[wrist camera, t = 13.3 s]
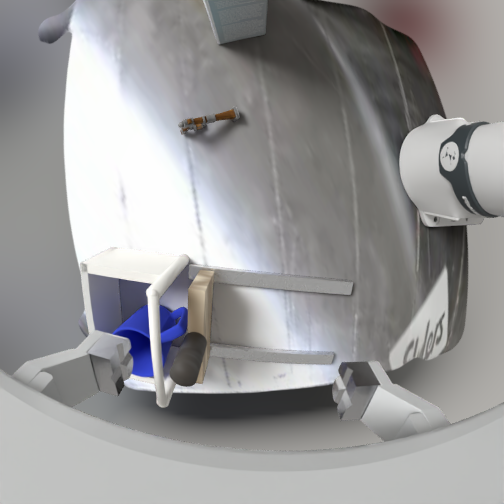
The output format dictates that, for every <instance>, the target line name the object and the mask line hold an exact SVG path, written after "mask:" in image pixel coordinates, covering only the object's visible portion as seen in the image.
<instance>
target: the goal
mask: <svg viewBox="0 0 504 504" xmlns="http://www.w3.org/2000/svg"><path fill="white" fill-rule="evenodd" d="M188 263H189V257H188V256H187V255H185V254H182V255H174V254H166V253H157V252H149V251H140V250H132V249H124V248H116V247H110V248H108V249H106V250H104V251H102V252H100V253H98V254H96V255H94V256H92V257H90V258H89V259H87V260H85V261H83V262H81V263H80V269H81V280H82V289H83V297H84V305H85V312H86V318H87V324H88V330H89V335H90V334H91V333H92V332H93V331H95V330H98V331H102V332H105V333H109V334H112V333H113V332H114V331H115V330H116V329H117V328H118V327H119V326H121V325H122V324H123V322H122V313H121V302H120V289H119V279H125V280H131V281H138V282H144V283H151V284H152V285H151V286H150V287H149V288H148V289H147V291H146V295H147V297H148V314H149V330H150V343H151V354H152V363H153V372H154V376H152V377H140V376H136V375H133V374H131V375H130V377H129V378H130V379H134V380H138V381H142V382H146V383H151V384H155V388H156V394H157V404H158V405H159V406H160V407H167V406H168V404H169V401H170V398H171V396H172V393H173V390H174V387H175V385H176V383H175V382H174V381H173V380H172V379H171V377H170V374H169V372H170V369H171V367H172V365H173V362H174V360H175V358H176V355H177V353H178V351H179V348H180V347H175V346H171V347H170V350H169V353H168V356H167V359H166V362H165V365H164V368H163V363H162V350H161V334H160V311H159V299H160V298H161V296H162V295H163V294H164V293H165V291H166V290H167V289H168V288H169V286H170V285H171V284H172V283H173V281H174V280H175V279H176V278H177V276H178V275H179V274H180V273H181V272H182V270H183V269H184V268H185V267H186V265H187V264H188Z"/></svg>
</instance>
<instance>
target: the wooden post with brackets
mask: <svg viewBox="0 0 504 504" xmlns="http://www.w3.org/2000/svg"><path fill="white" fill-rule="evenodd" d="M239 118H240V116H239V113H238V110H237V107H236V106H233V108H232V109H231V110H229V111H226V112H223V113H220V114H216V115H214V114H212V115H206V116H205V117H204V116H202V117H200V118H195V119H193V118H190V119H185V120H182V122H180V123H179V124H178V126H179V127H180V128H181V134H185V133H186V132H187V131H188V130H189V129H190V130H193V129H194V131H196V130H198V129H203V127H205V126H206V124H208V123H212V122H215V121H218V120H228V119H232V120H233V122H234V121H237V120H238V119H239Z"/></svg>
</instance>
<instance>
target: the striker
mask: <svg viewBox="0 0 504 504" xmlns="http://www.w3.org/2000/svg"><path fill="white" fill-rule="evenodd" d="M213 281H214V271H206V270H200V271H199V272H198V274H197V276H196V277H195V279H194V280H193V282H192V284H191V285H190V287H189V288H188V334H186V335H185V337H184V339H183V342H182V344H181V346H180V348H179V351H178V353H177V355H176V358H175V360H174V362H173V365H172V367H171V369H170V372H169V374H170V377H171V379H172V380H173V381H174V382H175V383H176V384H178V385H181V386H186V387H187V386H192V385H194V384H195V383H199V384H203V380H204V376H205V372H206V368H207V364H208V360H209V356H210V335H211V315H212V297H213Z"/></svg>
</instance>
